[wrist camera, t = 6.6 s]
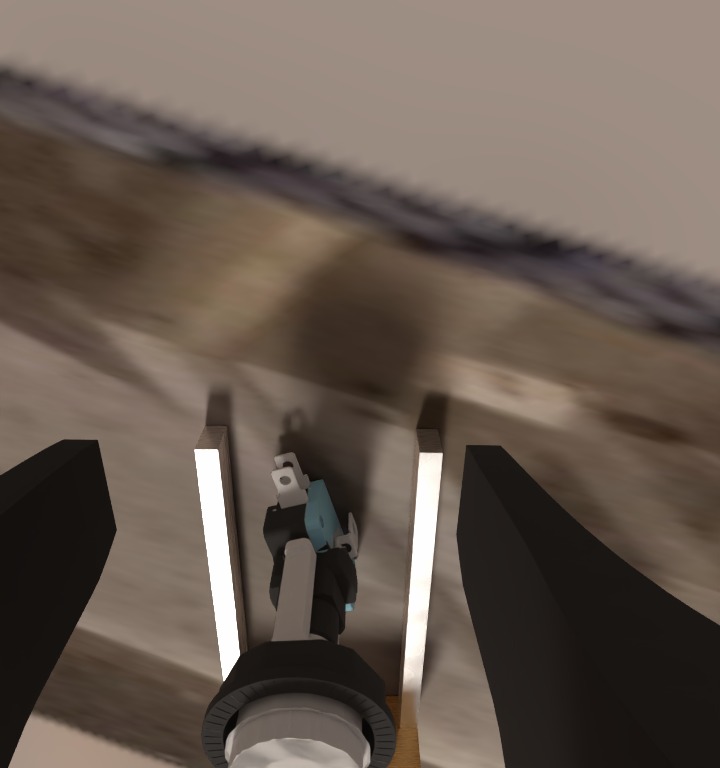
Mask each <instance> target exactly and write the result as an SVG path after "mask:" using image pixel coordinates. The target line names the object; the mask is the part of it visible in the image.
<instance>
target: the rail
mask: <svg viewBox="0 0 720 768" xmlns="http://www.w3.org/2000/svg"><path fill="white" fill-rule="evenodd" d="M442 456H443V452H442V447H441V442H440V438H439V433H438V429H416V437H415V452H414V467H413V482H412V496H411V511H410V526H409V541H408V556H407V570H406V585H405V600H404V615H403V629H402V644H401V659H400V674H399V689H398V696H386V704H387V705H388V707H389V708H390V710H391V712H392V714H393V717H394V721H395V727H396V749H395V753H394V756H393V758H392V760H391V762H390V764H389V765H388V767H387V768H421V765H420V753H419V741H418V730H417V726H418V715H419V704H420V694H421V683H422V672H423V661H424V650H425V640H426V629H427V618H428V607H429V597H430V586H431V575H432V564H433V553H434V543H435V532H436V521H437V510H438V499H439V489H440V478H441V467H442ZM195 457H196V464H197V472H198V480H199V488H200V496H201V504H202V512H203V520H204V528H205V536H206V544H207V552H208V560H209V567H210V575H211V583H212V591H213V599H214V607H215V615H216V623H217V631H218V639H219V647H220V655H221V662H222V670H223V678H224V681H225V679H226V677H227V675H228V674H229V672H230V670H231V669H232V667H233V665H234V664H235V662H236V660H237V659H238V657H239V656H240V655H241V654H242V653H244V652H246V651H248V642H247V632H246V621H245V611H244V600H243V590H242V580H241V569H240V559H239V548H238V538H237V527H236V517H235V507H234V496H233V486H232V475H231V465H230V455H229V444H228V434H227V426H205V427H204V429H203V432H202V434H201V436H200V438H199V441H198V443H197V445H196V447H195ZM362 718H363V716H362Z"/></svg>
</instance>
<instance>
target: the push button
mask: <svg viewBox="0 0 720 768" xmlns="http://www.w3.org/2000/svg"><path fill="white" fill-rule="evenodd" d="M274 460H275V462H276V465H277V467H278V469H275V470H273V471H272V472H271V475H272V477H273V480H274V482H275V484H276V487H277V489H278V492H279V495H276V497H277V499H278V503H277V505H275V506H271V507H268V509H267V513H266V518H265V522H264V527H263V534H264V538H265V540H266V543H267V545H268V547H269V549H270V552H271V554H272V556H273V561H274V566H273V571H272V577H271V582H270V590H269V593H270V599H271V601H272V604H273V605H274V607H275V608H276V611H277V614H276V620H275V627H274V633H273V637H272V640H271V641H269V642H265V643H263V644H261V645H259V646H257V647H255V648H253V649H251V650H248V651H246V652H244V653H242V654H241V655H240V656H239V657H238V659H237V660H236V662H235V664H234V665H233V667H232V669H231V670H230V672H229V674H228V675H227V677H226V679H225V681H224V682H223V684H222V686H221V688H220V690H219V693H218V694H217V695H216V696H215V697H214V698H213V700H212V701H211V703H210V704H209V706H208V708H207V711H206V714H205V718H204V722H203V726H202V733H201V738H202V745H203V748H204V751H205V753H206V755H207V757H208V759H209V760H210V762H211V763H212V764H213V765H214V767H215V768H387V767H388V765H389V764H390V762H391V760H392V758H393V756H394V753H395V749H396V727H395V721H394V717H393V714H392V712H391V710H390V708H389V707H388V705H387V704H386V695H385V684H384V681H383V680H382V679H381V678H380V677H379V676H378V675H377V674H376V673H375V672H374V670H373V669H372V668H371V667H370V666H369V665H368V664H367V663H366V662H365V661H364V660H363V659H362V658H361V657H360V656H359V655H358V654H357V653H356V652H355V651H354V650H353V649H350V648H347V647H344V646H341V645H339V635H340V634H341V633H342V632H343V631H344V629H345V613H346V611H350V610H354V602H355V601H356V593H357V575H356V568H355V561H354V558H353V557H357V556H358V553H357V550H358V530H357V526H356V523H355V520H354V518H353V515H352V513H351V512H350V513H349V521H348V531H349V533H348V534H347V535H344V534H343V531H342V528H341V526H340V523H339V520H338V518H337V515H336V512H335V510H334V507H333V504H332V502H331V499H330V496H329V494H328V491H327V488H326V486H325V483H324V481H323V480H322V479H321V480H316V481H312V482H310V481H309V478H308V476H307V474H305V475H303V474H302V471H301V468H300V466H299V463H298V461H297V458H296V456H295V453H293V452H290V453H286V454H282V455H277V456H276V457H275V458H274ZM286 461H289V462H291V463H292V464H293V468H292V467H290V466H288V467H283V463H284V462H286ZM281 477H282V479H283V480H280V478H281ZM353 529H354V531H353ZM362 716H363V718H362Z"/></svg>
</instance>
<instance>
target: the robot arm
mask: <svg viewBox="0 0 720 768" xmlns="http://www.w3.org/2000/svg"><path fill="white" fill-rule="evenodd" d="M116 531H117V529H116V524H115V519H114V515H113V510H112V505H111V500H110V496H109V491H108V486H107V481H106V477H105V472H104V467H103V462H102V458H101V453H100V448H99V443H98V440H65V439H64V440H62V441H60V442H58V443H56V444H53V445H52V446H50V447H48V448H46V449H44V450H42V451H41V452H39V453H37V454H35V455H34V456H32V457H30V458H29V459H27V460H25V461H24V462H22V463H20V464H19V465H17V466H15V467H14V468H12V469H10V470H9V471H7V472H5V473H4V474H2V475H0V768H8V766H9V764H10V761H11V759H12V756H13V754H14V752H15V749H16V747H17V744H18V742H19V739H20V737H21V734H22V732H23V729H24V727H25V725H26V722H27V720H28V718H29V716H30V714H31V712H32V710H33V708H34V705H35V703H36V701H37V699H38V697H39V695H40V693H41V691H42V689H43V687H44V686H45V684H46V682H47V680H48V678H49V676H50V674H51V672H52V670H53V668H54V666H55V665H56V663H57V661H58V659H59V657H60V655H61V653H62V651H63V649H64V647H65V645H66V644H67V642H68V640H69V638H70V636H71V634H72V632H73V630H74V628H75V626H76V624H77V623H78V621H79V619H80V617H81V615H82V613H83V611H84V609H85V607H86V605H87V603H88V601H89V599H90V597H91V595H92V593H93V591H94V589H95V587H96V585H97V583H98V581H99V579H100V576H101V574H102V571H103V568H104V566H105V563H106V560H107V558H108V555H109V552H110V549H111V546H112V543H113V540H114V537H115V534H116ZM456 535H457V543H458V551H459V560H460V567H461V574H462V582H463V587H464V591H465V595H466V599H467V603H468V607H469V611H470V615H471V619H472V623H473V626H474V630H475V634H476V638H477V642H478V645H479V649H480V653H481V657H482V661H483V665H484V668H485V672H486V676H487V680H488V684H489V688H490V691H491V695H492V699H493V703H494V708H495V712H496V717H497V721H498V726H499V731H500V737H501V743H502V749H503V756H504V762H505V768H720V625H718V624H717V623H715V622H713V621H712V620H710V619H708V618H707V617H705V616H704V615H702V614H700V613H699V612H697V611H695V610H694V609H692V608H691V607H689V606H688V605H686V604H684V603H683V602H681V601H680V600H678V599H677V598H675V597H674V596H672V595H671V594H669V593H668V592H666V591H665V590H664V589H662V588H661V587H660V586H658V585H657V584H655V583H654V582H653V581H651V580H650V579H648V578H647V577H646V576H644V575H643V574H641V573H640V572H639V571H637V570H636V569H635V568H633V567H632V566H630V565H629V564H628V563H627V562H625V561H624V560H623V559H621V558H620V557H619V556H618V555H616V554H615V553H614V552H613V551H611V550H610V549H609V548H608V547H607V546H605V545H604V544H603V543H602V542H601V541H599V540H598V539H597V538H596V537H595V536H593V535H592V534H591V533H590V532H589V531H588V530H586V529H585V528H584V527H583V526H582V525H581V524H580V523H579V522H577V521H576V520H575V519H574V518H573V517H572V516H571V515H570V514H569V513H568V512H566V511H565V510H564V509H563V508H562V507H561V506H560V505H559V504H558V503H557V502H556V501H555V500H554V499H553V498H552V497H551V496H550V495H549V494H548V493H547V492H546V491H545V490H544V489H543V488H542V487H541V486H540V485H539V484H538V483H537V482H536V481H535V480H534V479H533V478H532V477H531V476H530V475H529V474H528V473H527V472H526V471H525V470H524V469H523V468H522V467H521V466H520V465H519V464H518V463H517V462H516V461H515V460H514V459H513V458H512V457H511V456H510V455H509V454H508V453H507V452H506V451H505V450H504V449H503V448H502V447H501V446H490V445H466V454H465V463H464V471H463V480H462V489H461V498H460V507H459V516H458V525H457V534H456Z"/></svg>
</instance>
